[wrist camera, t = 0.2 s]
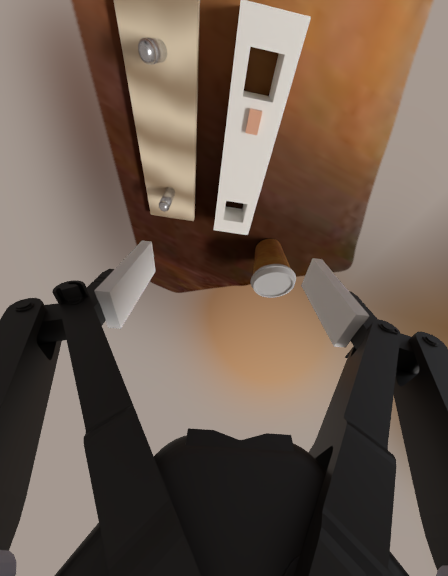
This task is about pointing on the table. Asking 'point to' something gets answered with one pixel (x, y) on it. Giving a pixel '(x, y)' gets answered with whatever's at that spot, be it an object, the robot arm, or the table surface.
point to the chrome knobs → (152, 54)
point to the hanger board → (164, 97)
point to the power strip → (255, 110)
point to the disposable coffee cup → (271, 270)
